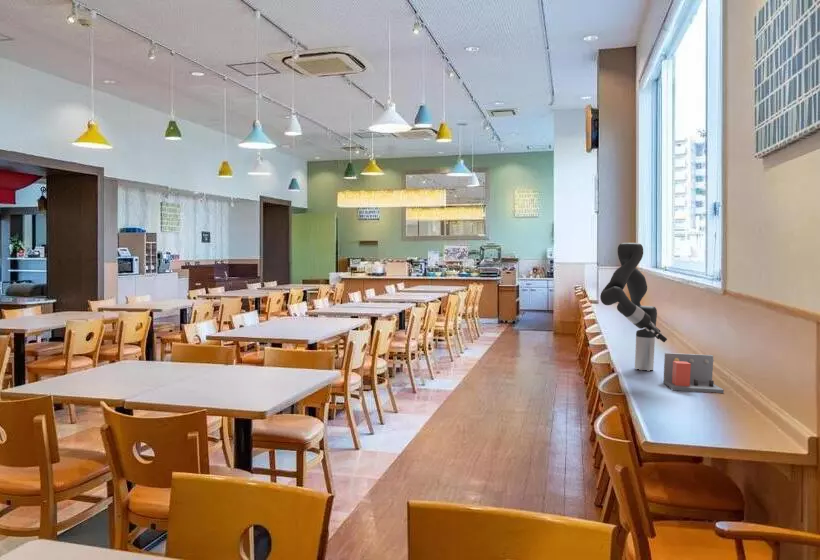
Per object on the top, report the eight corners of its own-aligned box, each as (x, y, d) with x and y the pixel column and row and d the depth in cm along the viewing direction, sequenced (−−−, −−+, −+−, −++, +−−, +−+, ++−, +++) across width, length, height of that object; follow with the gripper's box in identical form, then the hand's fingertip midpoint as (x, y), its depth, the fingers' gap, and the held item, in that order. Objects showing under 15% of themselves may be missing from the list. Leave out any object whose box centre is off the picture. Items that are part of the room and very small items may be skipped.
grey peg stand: (663, 382, 294) (664, 352, 294) (710, 385, 291) (712, 355, 291) (672, 390, 277) (674, 358, 277) (723, 393, 274) (725, 361, 274)
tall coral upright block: (672, 382, 287) (673, 360, 286) (685, 383, 286) (686, 361, 285) (675, 385, 281) (676, 363, 280) (689, 386, 280) (690, 363, 279)
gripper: (648, 317, 280) (673, 337, 284) (638, 304, 293) (662, 324, 297) (636, 329, 282) (661, 349, 286) (626, 315, 296) (651, 335, 299)
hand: (662, 336), depth 291 cm, fingers open, 8 cm apart
